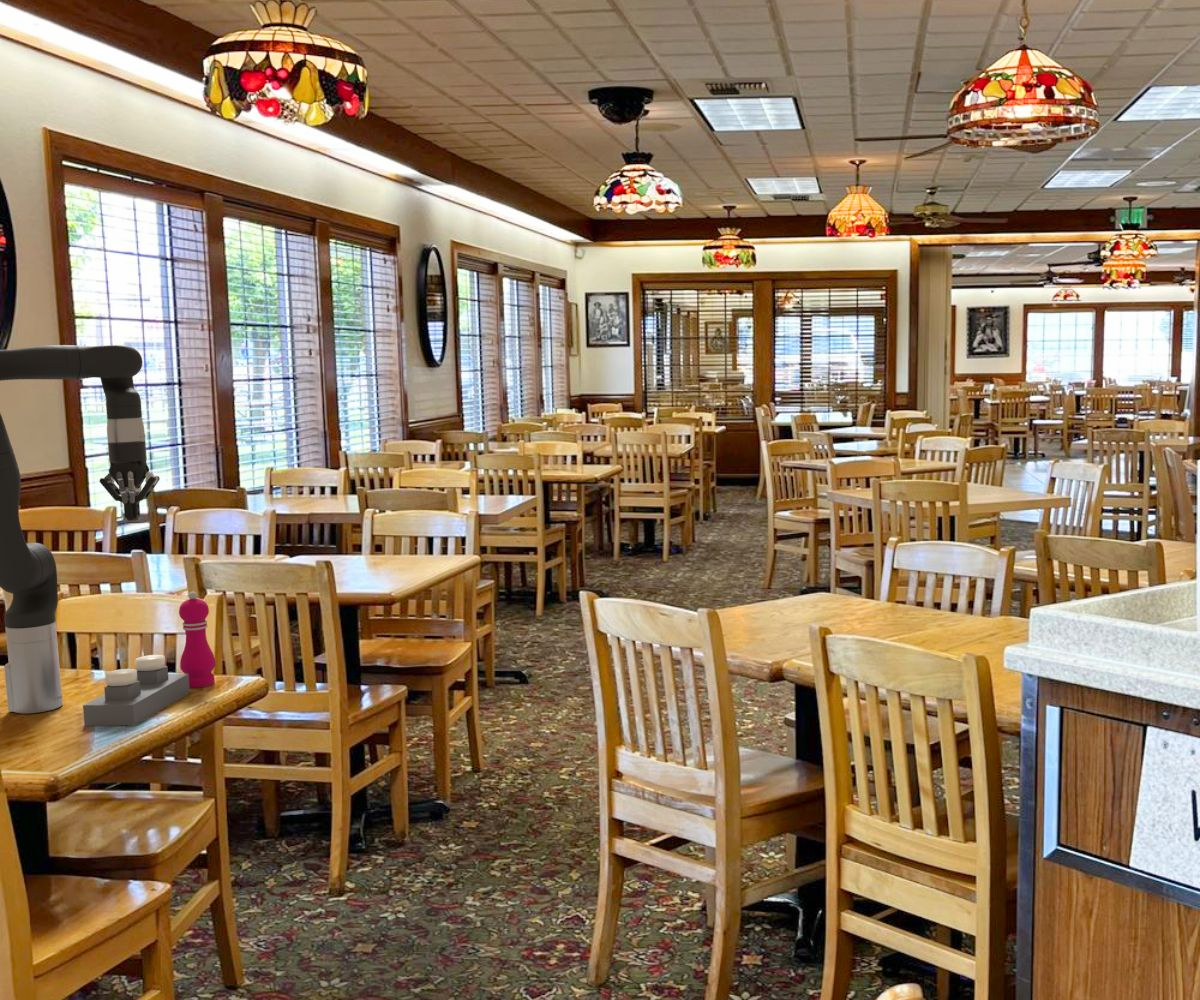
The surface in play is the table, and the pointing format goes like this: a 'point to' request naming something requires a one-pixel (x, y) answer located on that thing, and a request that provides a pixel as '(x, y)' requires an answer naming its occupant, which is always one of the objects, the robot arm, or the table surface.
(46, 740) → the table surface
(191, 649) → the pepper mill
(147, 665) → the knob
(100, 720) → the mount bar
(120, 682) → the knob
